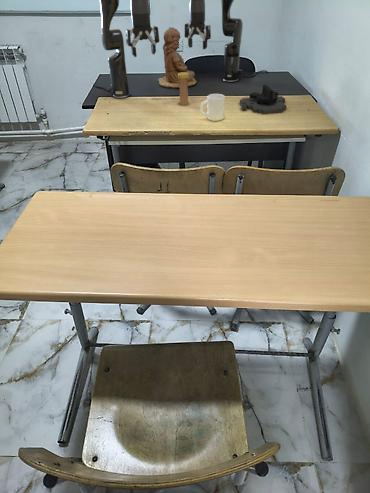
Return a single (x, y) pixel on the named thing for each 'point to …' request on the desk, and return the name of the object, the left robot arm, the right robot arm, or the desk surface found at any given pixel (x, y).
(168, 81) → the sculpture
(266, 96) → the abstract sculpture
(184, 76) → the lid
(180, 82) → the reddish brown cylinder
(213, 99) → the mug
